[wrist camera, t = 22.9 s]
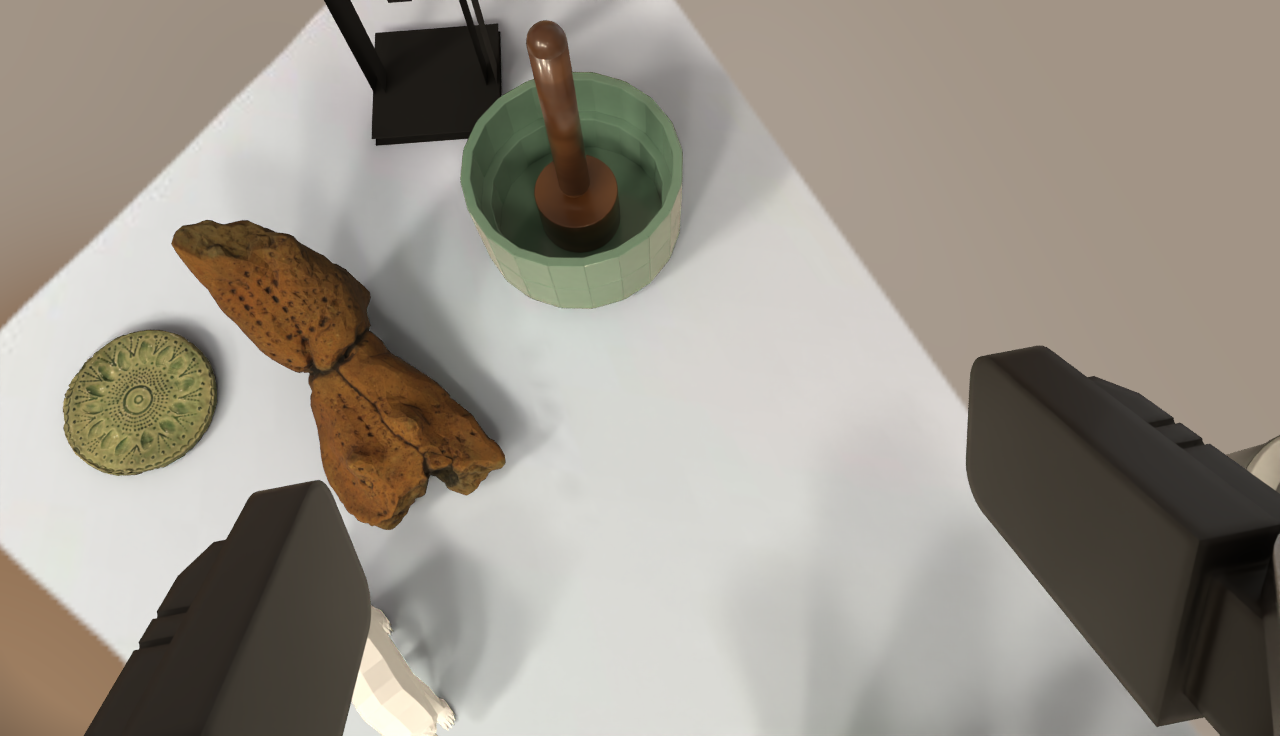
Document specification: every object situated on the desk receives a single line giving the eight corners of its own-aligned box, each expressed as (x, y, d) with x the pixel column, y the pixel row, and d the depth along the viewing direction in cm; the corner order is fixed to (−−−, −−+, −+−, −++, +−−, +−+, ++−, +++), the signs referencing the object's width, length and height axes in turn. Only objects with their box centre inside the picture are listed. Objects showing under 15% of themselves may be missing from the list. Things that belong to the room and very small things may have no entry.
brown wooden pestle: (621, 183, 45) (603, -19, 31) (619, 253, 44) (599, 77, 30) (544, 182, 45) (491, -19, 31) (539, 252, 44) (481, 76, 30)
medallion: (248, 374, 43) (240, 370, 42) (153, 504, 41) (144, 502, 40) (133, 308, 44) (125, 303, 43) (37, 430, 42) (26, 427, 41)
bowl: (680, 139, 47) (683, 72, 41) (678, 314, 43) (681, 268, 38) (494, 137, 47) (471, 71, 41) (478, 311, 44) (450, 265, 38)
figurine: (372, 590, 39) (335, 586, 35) (467, 725, 37) (441, 740, 33) (330, 623, 39) (289, 623, 35) (424, 762, 37) (392, 781, 33)
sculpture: (267, 155, 34) (401, 467, 30) (403, 228, 44) (517, 470, 40) (128, 255, 35) (239, 565, 32) (290, 304, 45) (389, 544, 41)
